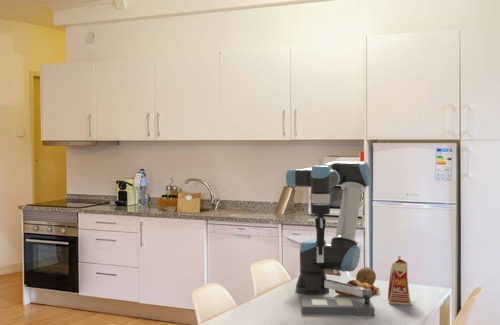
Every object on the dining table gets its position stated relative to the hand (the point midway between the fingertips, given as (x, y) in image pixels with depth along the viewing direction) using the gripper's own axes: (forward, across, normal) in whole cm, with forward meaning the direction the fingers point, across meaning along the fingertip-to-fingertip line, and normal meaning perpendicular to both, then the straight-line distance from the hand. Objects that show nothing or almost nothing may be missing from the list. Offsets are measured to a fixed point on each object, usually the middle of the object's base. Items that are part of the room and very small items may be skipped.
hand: (320, 262), depth 226 cm
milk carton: (+20, -15, +35) cm, 43 cm away
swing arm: (+14, -7, +12) cm, 20 cm away
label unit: (+19, 0, +7) cm, 21 cm away
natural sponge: (+20, -36, +24) cm, 47 cm away
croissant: (+20, -25, +19) cm, 37 cm away
